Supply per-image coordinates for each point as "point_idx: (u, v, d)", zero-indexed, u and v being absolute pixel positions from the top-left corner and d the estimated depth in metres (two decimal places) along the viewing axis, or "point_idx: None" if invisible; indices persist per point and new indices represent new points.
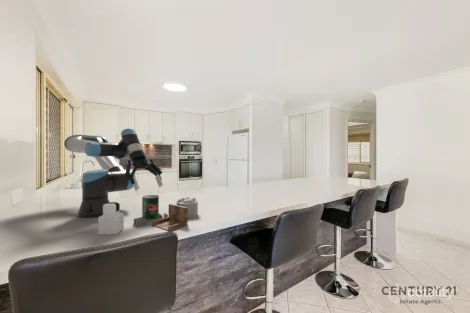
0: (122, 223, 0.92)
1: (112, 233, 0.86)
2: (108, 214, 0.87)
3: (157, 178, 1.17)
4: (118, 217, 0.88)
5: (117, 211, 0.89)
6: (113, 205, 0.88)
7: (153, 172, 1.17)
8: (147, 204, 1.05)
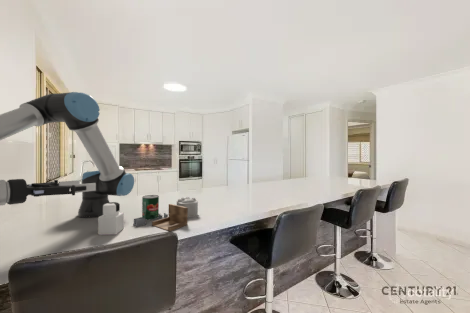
0: (122, 223, 0.92)
1: (112, 233, 0.86)
2: (108, 214, 0.87)
3: None
4: (118, 217, 0.88)
5: (117, 211, 0.89)
6: (113, 205, 0.88)
7: None
8: (147, 204, 1.05)
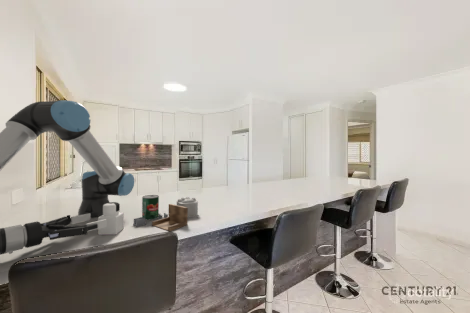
0: (122, 223, 0.92)
1: (112, 233, 0.86)
2: (108, 214, 0.87)
3: None
4: (118, 217, 0.88)
5: (117, 211, 0.89)
6: (113, 205, 0.88)
7: None
8: (147, 204, 1.05)
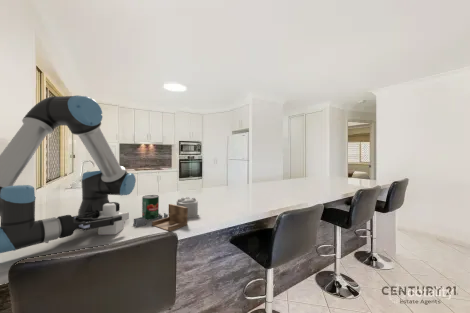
0: (122, 223, 0.92)
1: (112, 233, 0.86)
2: (108, 214, 0.87)
3: None
4: None
5: (117, 211, 0.89)
6: (113, 205, 0.88)
7: None
8: (147, 204, 1.05)
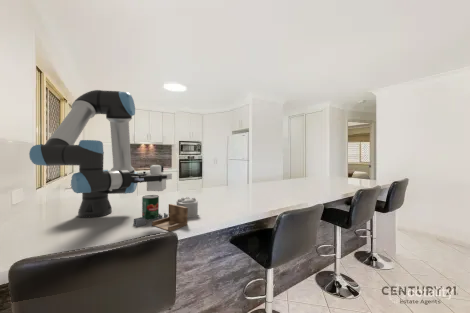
0: (165, 184, 1.05)
1: (158, 190, 1.00)
2: (155, 173, 1.00)
3: None
4: None
5: (162, 172, 1.02)
6: (159, 166, 1.01)
7: None
8: (147, 204, 1.05)
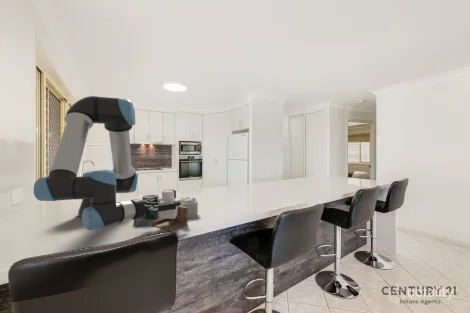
0: (177, 209, 1.00)
1: (171, 217, 0.94)
2: (168, 200, 0.95)
3: None
4: None
5: (175, 197, 0.97)
6: (172, 192, 0.96)
7: None
8: None
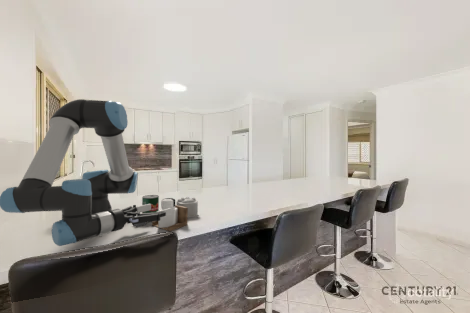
0: (177, 218, 1.00)
1: None
2: None
3: None
4: (175, 212, 0.96)
5: (174, 206, 0.97)
6: (171, 200, 0.95)
7: None
8: None
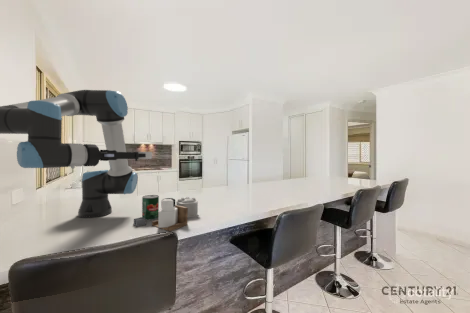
0: (177, 218, 1.00)
1: None
2: (167, 209, 0.95)
3: None
4: (175, 212, 0.96)
5: (174, 206, 0.97)
6: (171, 200, 0.95)
7: None
8: (147, 204, 1.05)
